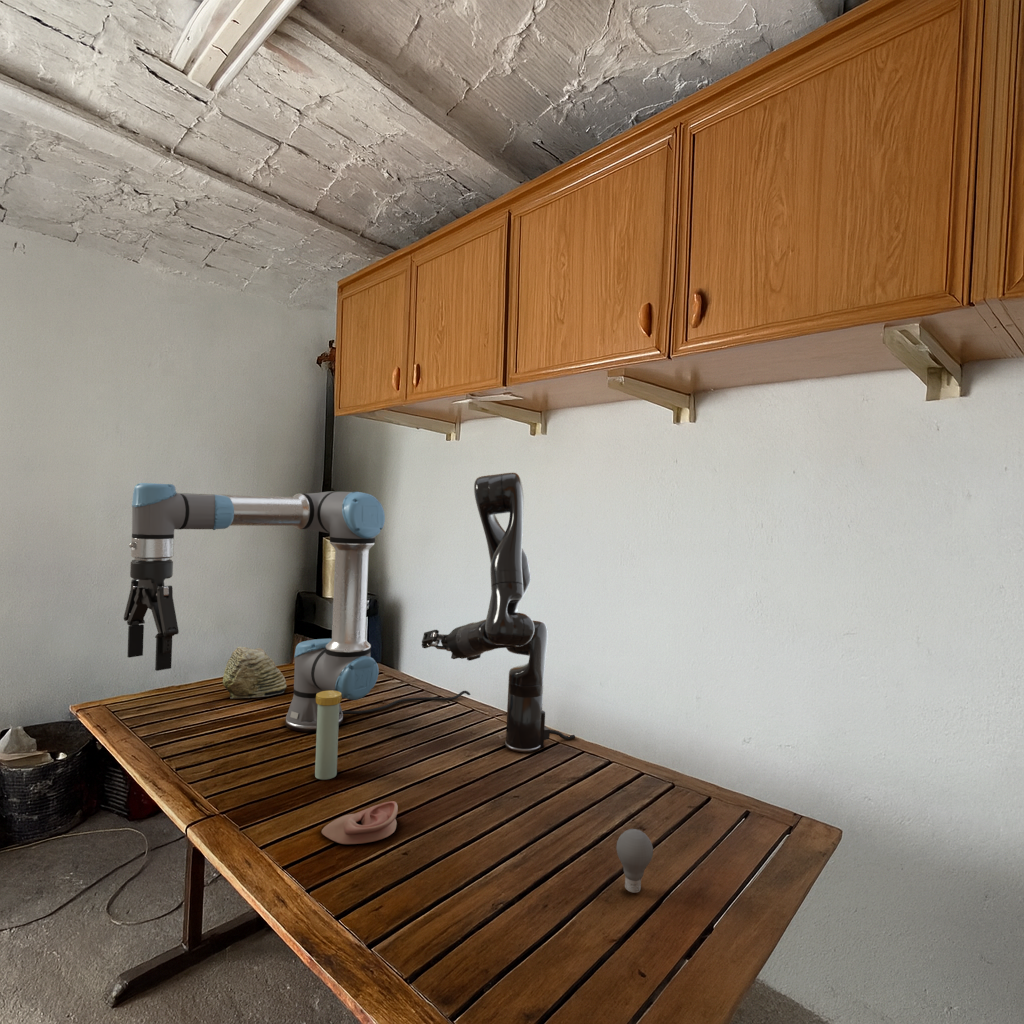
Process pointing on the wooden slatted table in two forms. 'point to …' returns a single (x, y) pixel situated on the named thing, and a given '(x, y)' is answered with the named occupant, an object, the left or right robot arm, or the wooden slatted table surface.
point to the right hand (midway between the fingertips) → (438, 649)
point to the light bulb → (634, 857)
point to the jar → (327, 741)
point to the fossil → (252, 674)
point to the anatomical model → (364, 825)
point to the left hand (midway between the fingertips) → (148, 662)
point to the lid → (328, 698)
